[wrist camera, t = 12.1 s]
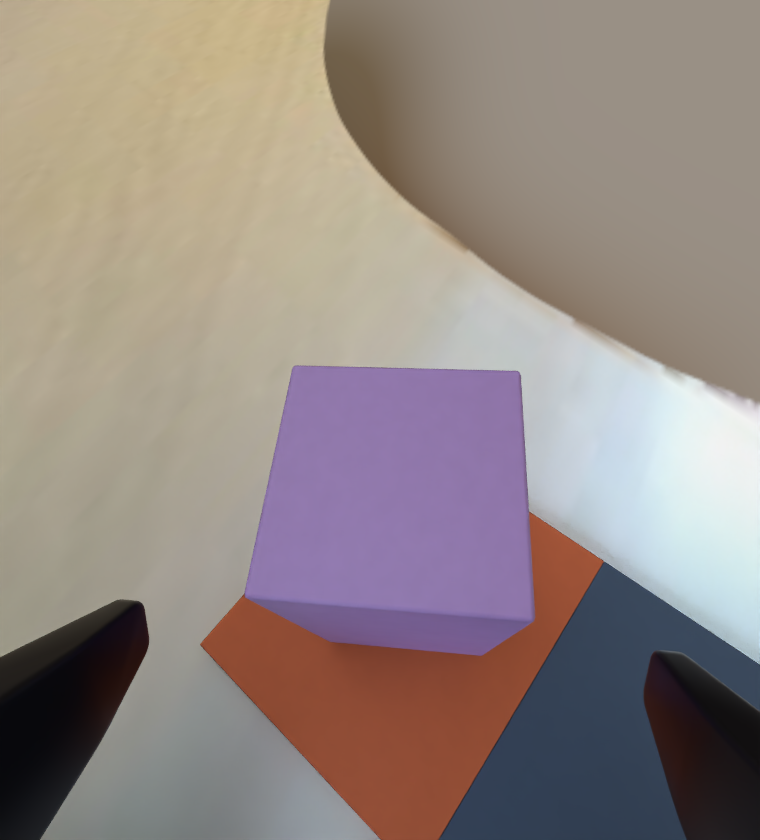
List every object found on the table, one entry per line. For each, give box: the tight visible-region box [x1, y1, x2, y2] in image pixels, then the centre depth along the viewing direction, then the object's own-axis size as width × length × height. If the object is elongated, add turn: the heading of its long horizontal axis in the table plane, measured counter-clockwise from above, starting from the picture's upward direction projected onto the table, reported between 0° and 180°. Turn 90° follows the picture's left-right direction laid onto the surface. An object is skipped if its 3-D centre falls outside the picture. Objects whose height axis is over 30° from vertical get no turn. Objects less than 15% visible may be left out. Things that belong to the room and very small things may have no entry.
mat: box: [200, 512, 760, 840], centre depth 13 cm, size 26×10×1 cm, turn 51°
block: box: [244, 366, 535, 656], centre depth 13 cm, size 5×5×8 cm
